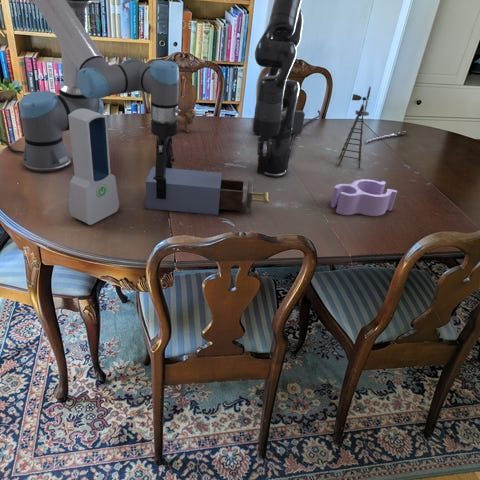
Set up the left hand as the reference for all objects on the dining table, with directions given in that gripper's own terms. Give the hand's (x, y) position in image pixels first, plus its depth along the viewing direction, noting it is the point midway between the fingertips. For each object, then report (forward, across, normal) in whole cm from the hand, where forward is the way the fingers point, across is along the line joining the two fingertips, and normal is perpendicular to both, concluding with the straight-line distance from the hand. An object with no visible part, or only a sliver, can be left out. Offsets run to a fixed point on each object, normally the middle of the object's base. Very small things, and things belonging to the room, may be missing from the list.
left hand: (164, 189), depth 143 cm
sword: (+4, +79, -90) cm, 119 cm away
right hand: (-9, 0, -29) cm, 30 cm away
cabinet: (+4, 0, -6) cm, 8 cm away
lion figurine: (+4, +63, +4) cm, 63 cm away
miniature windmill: (+4, +45, -66) cm, 80 cm away
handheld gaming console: (+4, +71, -38) cm, 81 cm away
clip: (+4, +8, -63) cm, 64 cm away
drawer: (+3, 0, -19) cm, 19 cm away
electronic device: (+4, -12, +18) cm, 22 cm away
